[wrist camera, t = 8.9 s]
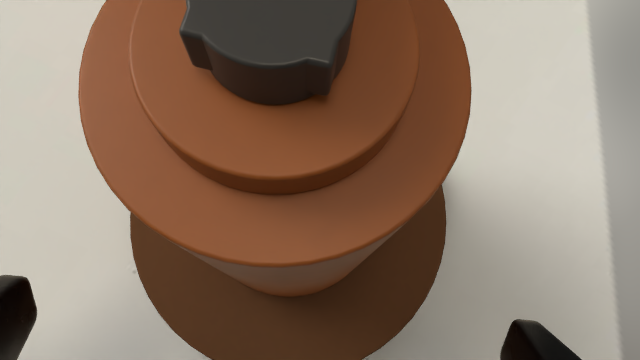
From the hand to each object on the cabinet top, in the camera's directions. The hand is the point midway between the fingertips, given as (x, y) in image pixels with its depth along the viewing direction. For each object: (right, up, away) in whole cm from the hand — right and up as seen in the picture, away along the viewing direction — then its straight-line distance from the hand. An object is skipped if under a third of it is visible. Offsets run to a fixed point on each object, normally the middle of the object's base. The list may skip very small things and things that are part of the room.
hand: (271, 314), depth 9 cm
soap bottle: (0, +2, +8) cm, 8 cm away
